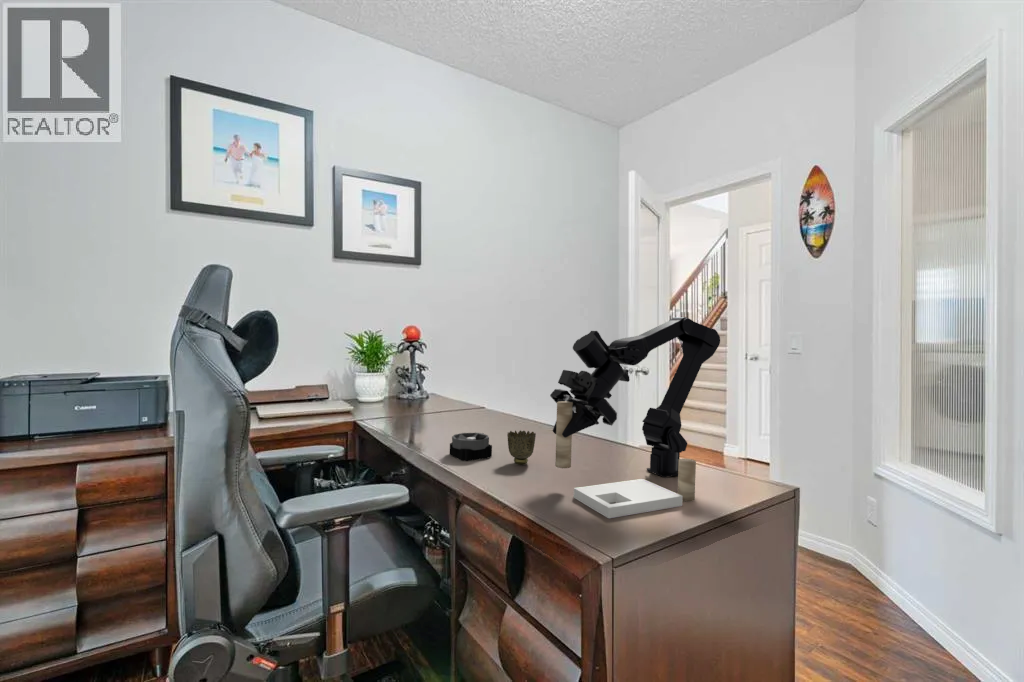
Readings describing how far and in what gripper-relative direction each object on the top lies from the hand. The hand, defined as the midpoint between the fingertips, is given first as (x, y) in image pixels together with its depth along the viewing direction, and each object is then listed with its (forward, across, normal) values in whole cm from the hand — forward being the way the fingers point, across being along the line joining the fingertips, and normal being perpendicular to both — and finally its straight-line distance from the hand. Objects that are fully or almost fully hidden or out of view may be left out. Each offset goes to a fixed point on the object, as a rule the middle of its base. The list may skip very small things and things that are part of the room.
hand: (558, 434), depth 105 cm
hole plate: (+2, +12, +15) cm, 19 cm away
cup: (+7, -21, +10) cm, 24 cm away
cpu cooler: (+14, -33, +4) cm, 36 cm away
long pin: (+4, 0, +6) cm, 7 cm away
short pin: (-7, +16, +24) cm, 30 cm away
